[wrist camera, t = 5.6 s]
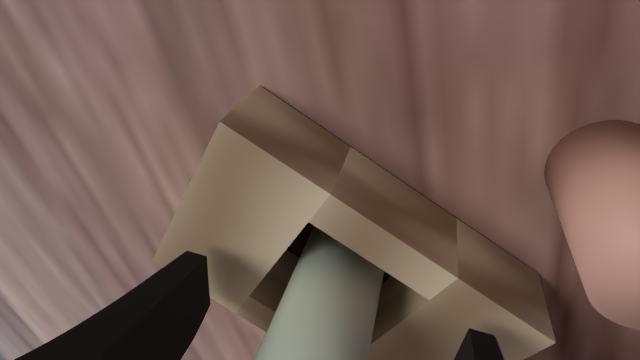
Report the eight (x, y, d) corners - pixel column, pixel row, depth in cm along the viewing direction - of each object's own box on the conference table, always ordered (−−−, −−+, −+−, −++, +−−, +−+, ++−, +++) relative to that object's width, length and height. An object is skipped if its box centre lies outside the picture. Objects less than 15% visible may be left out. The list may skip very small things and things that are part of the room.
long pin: (397, 222, 13) (350, 498, 7) (378, 279, 14) (325, 547, 8) (318, 200, 13) (205, 442, 7) (307, 257, 15) (205, 499, 9)
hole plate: (538, 273, 13) (555, 342, 10) (414, 355, 16) (409, 419, 14) (259, 85, 12) (219, 121, 10) (191, 215, 15) (151, 261, 13)
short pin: (692, 161, 10) (814, 283, 7) (596, 226, 11) (656, 352, 8) (608, 99, 10) (691, 193, 6) (521, 173, 11) (551, 280, 8)
